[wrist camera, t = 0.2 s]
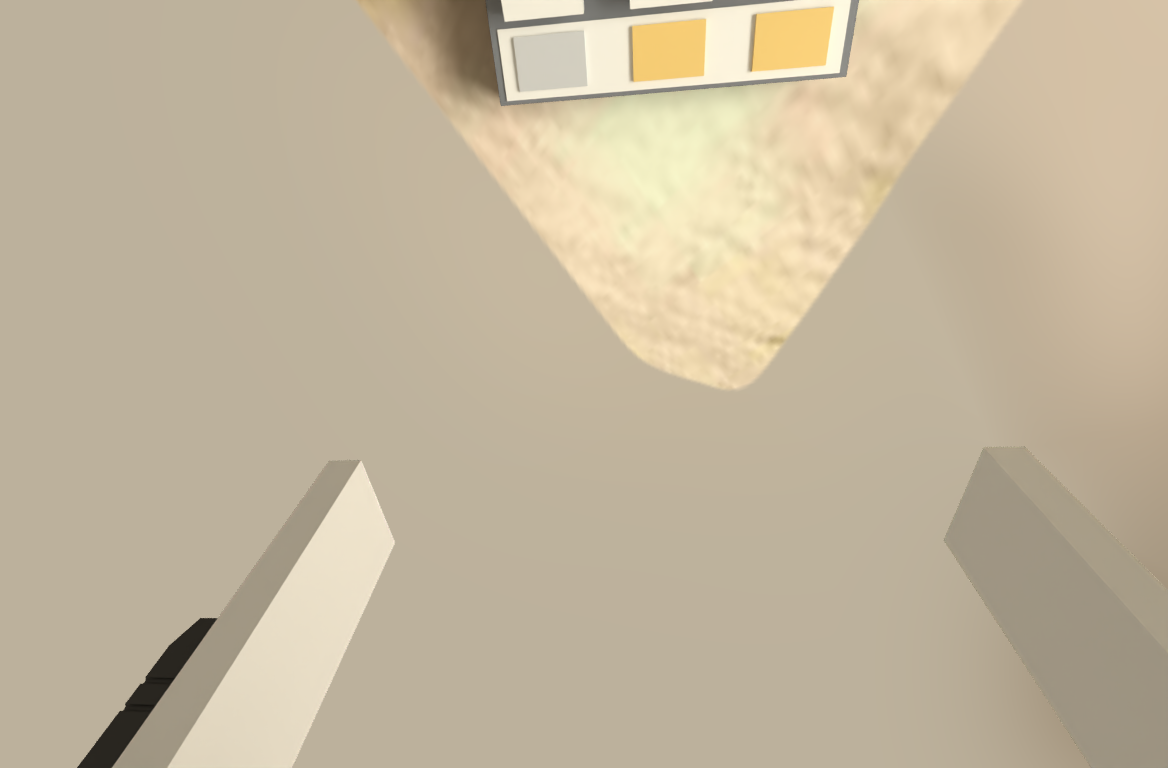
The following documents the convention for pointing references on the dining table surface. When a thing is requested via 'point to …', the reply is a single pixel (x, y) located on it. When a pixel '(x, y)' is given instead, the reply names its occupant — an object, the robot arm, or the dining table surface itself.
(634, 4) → the switch
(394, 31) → the dining table surface
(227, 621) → the robot arm
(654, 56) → the panel
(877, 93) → the dining table surface
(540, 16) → the switch
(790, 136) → the dining table surface
